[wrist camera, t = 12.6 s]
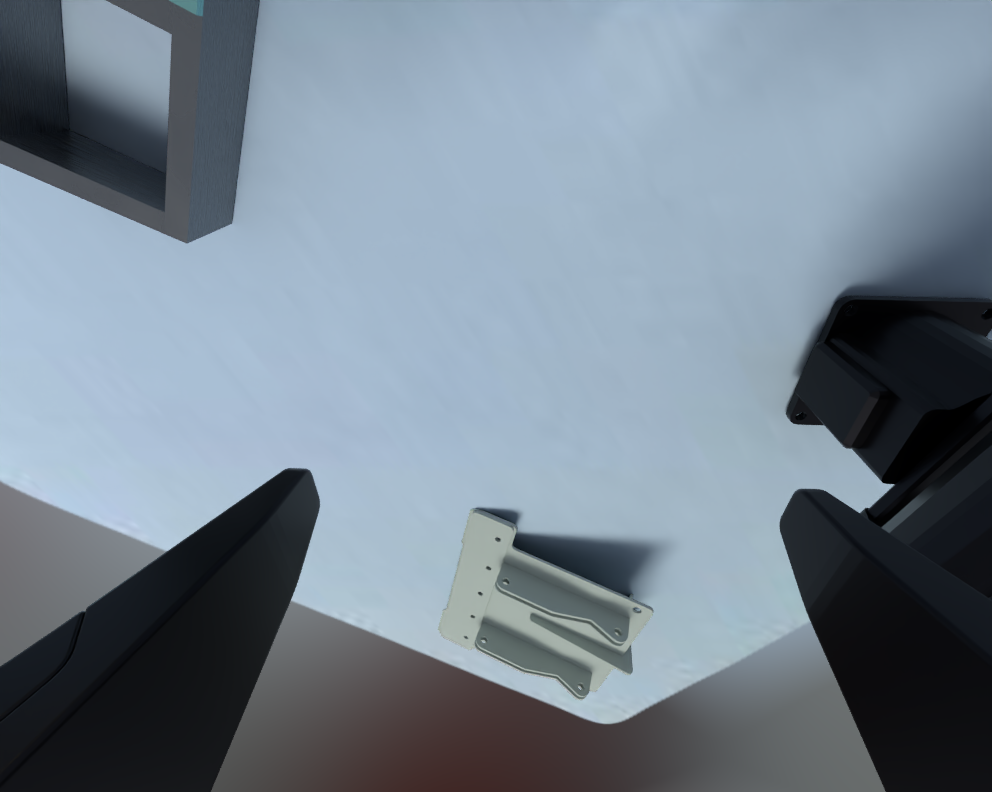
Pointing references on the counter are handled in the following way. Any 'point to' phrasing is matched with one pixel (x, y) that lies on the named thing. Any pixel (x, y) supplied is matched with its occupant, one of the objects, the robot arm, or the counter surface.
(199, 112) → the hole rail
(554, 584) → the metal bracket
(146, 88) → the counter surface
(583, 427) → the counter surface
